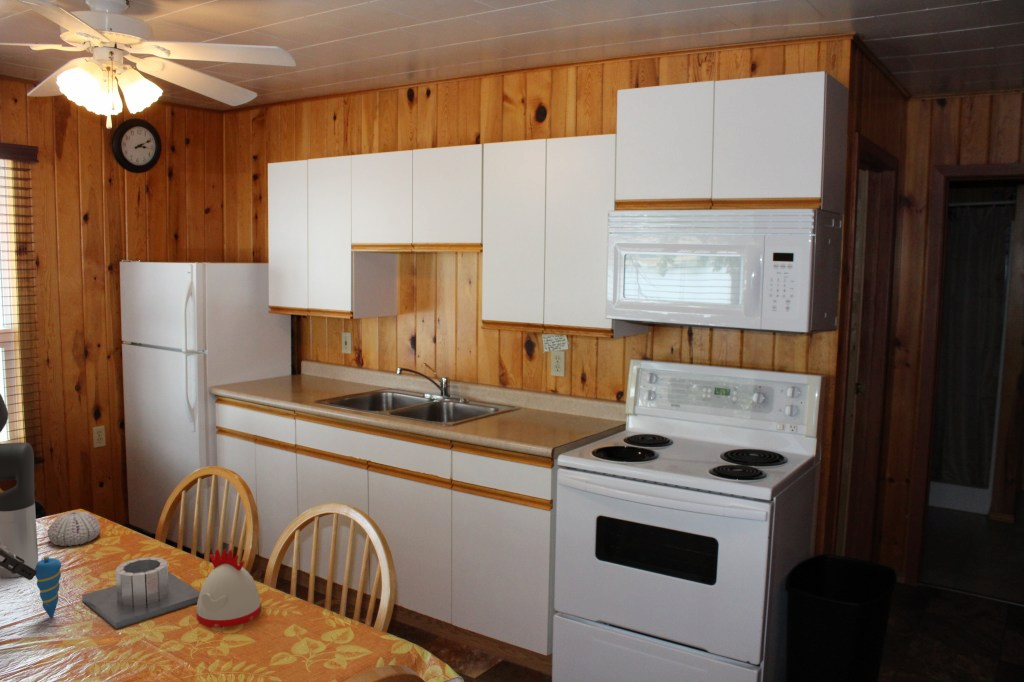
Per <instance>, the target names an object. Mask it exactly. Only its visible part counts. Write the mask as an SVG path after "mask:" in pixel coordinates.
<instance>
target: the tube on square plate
mask: <svg viewBox="0 0 1024 682" xmlns="http://www.w3.org/2000/svg"><path fill="white" fill-rule="evenodd" d="M168 563H169V562H168V560H166V559H164V558H162V557H154V556H149V557H139V558H135V559H131V560H126V561H124V562H122V563H121V564H119V565H117V567H116V568H115V569H116V570H115V585H112V586H109V587H106V588H101V589H98V590H95V591H91V592H88V593H84V594H82V595H81V597H82V598H81V599H82V602H83V603H84V604H86V606H88V607H89V608H91V610H92V611H94V612H95V613H96V614H97V613H98V614H97V615H99V616H100V617H101V618H102V619H103V618H104V619H103V620H105V621H106V622H107V623H108V624H109V625H110V626H112V627H113V628H114V629H116V630H119V629H122V628H124V627H128V626H131V625H134V624H137V623H140V622H143V621H146V619H147V620H149V618H150V619H152V617H153V618H155V616H156V617H158V615H159V616H161V614H162V615H165V614H168V613H171V612H174V611H177V610H180V609H183V608H186V607H189V606H193V605H195V604H196V605H197V602H198V598H199V595H200V591H199V590H198V589H196V588H195V587H193V586H192V585H190V584H188V583H187V582H185V581H183V580H182V579H181V578H179V577H178V576H176V575H174V574H173V573H171V572H170V571H169V570H168V569H169V568H168ZM164 613H165V614H164ZM139 621H140V622H139Z"/></svg>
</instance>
